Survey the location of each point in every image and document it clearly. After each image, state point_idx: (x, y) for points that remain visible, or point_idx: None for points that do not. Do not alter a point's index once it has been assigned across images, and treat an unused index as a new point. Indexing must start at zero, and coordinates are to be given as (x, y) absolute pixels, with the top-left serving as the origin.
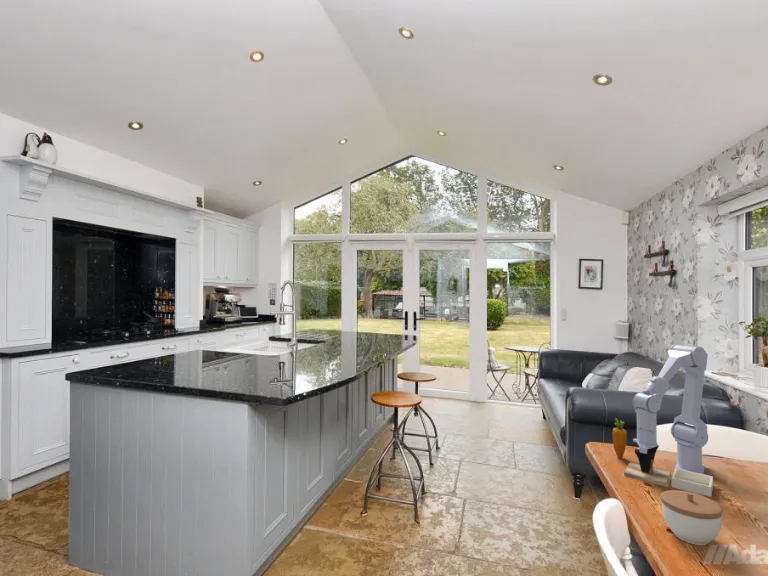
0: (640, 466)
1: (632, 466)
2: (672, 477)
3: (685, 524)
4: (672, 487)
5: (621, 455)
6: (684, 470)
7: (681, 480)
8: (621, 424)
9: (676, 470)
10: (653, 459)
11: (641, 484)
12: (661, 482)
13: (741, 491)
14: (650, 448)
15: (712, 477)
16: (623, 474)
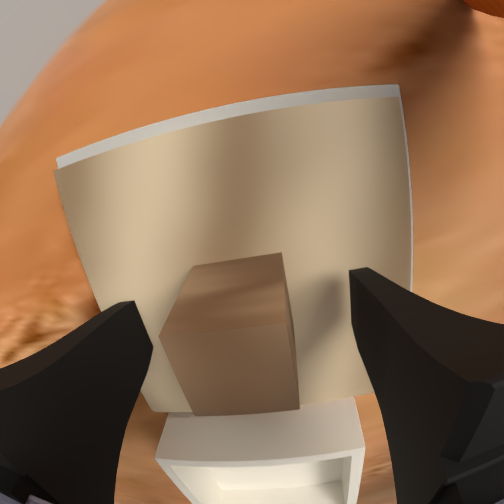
0: (90, 322)
1: (268, 153)
2: (165, 460)
3: None
4: (169, 418)
5: (476, 2)
6: (354, 472)
7: (173, 480)
8: None
9: (319, 460)
10: (370, 380)
11: (70, 292)
12: (144, 392)
13: (371, 500)
14: (410, 468)
15: None
16: (81, 154)
